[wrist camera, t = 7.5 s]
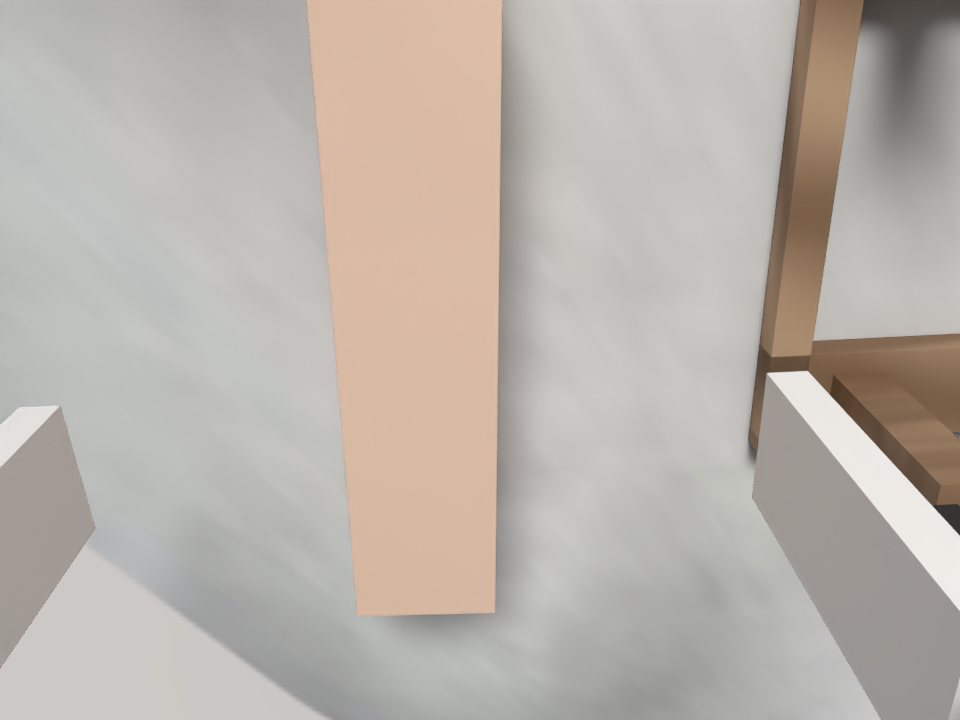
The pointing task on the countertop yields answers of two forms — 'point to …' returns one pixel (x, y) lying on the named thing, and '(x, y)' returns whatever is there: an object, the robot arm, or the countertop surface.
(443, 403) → the clay strip
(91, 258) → the countertop surface
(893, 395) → the rack
